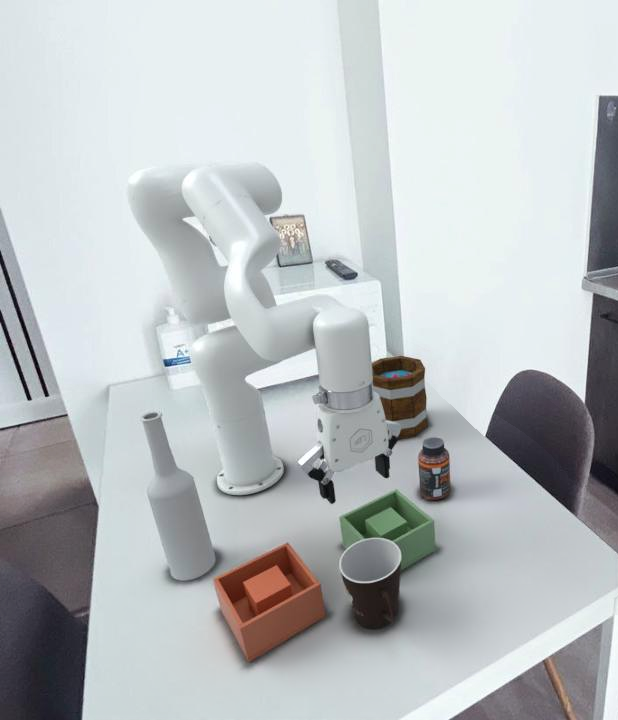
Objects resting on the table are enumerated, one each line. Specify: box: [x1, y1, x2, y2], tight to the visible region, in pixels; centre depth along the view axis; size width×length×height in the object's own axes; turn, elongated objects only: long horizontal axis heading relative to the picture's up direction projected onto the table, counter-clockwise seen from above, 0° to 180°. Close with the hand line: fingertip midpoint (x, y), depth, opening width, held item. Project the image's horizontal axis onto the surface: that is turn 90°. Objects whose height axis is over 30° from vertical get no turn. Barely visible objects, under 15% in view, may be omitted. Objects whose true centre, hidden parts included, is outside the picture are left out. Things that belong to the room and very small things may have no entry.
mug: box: [372, 355, 429, 440], centre depth 124 cm, size 20×14×15 cm
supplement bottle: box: [417, 436, 451, 501], centre depth 103 cm, size 6×6×11 cm
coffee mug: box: [338, 538, 402, 631], centre depth 77 cm, size 12×9×10 cm
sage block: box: [365, 507, 408, 541], centre depth 91 cm, size 5×5×5 cm
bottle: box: [139, 410, 217, 582], centre depth 83 cm, size 7×7×28 cm
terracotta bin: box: [212, 542, 327, 663], centre depth 79 cm, size 11×11×6 cm
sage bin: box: [338, 488, 436, 572], centre depth 91 cm, size 11×11×6 cm
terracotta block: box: [243, 565, 293, 617], centre depth 79 cm, size 5×5×5 cm
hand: (356, 486), depth 87 cm, fingers open, 9 cm apart
